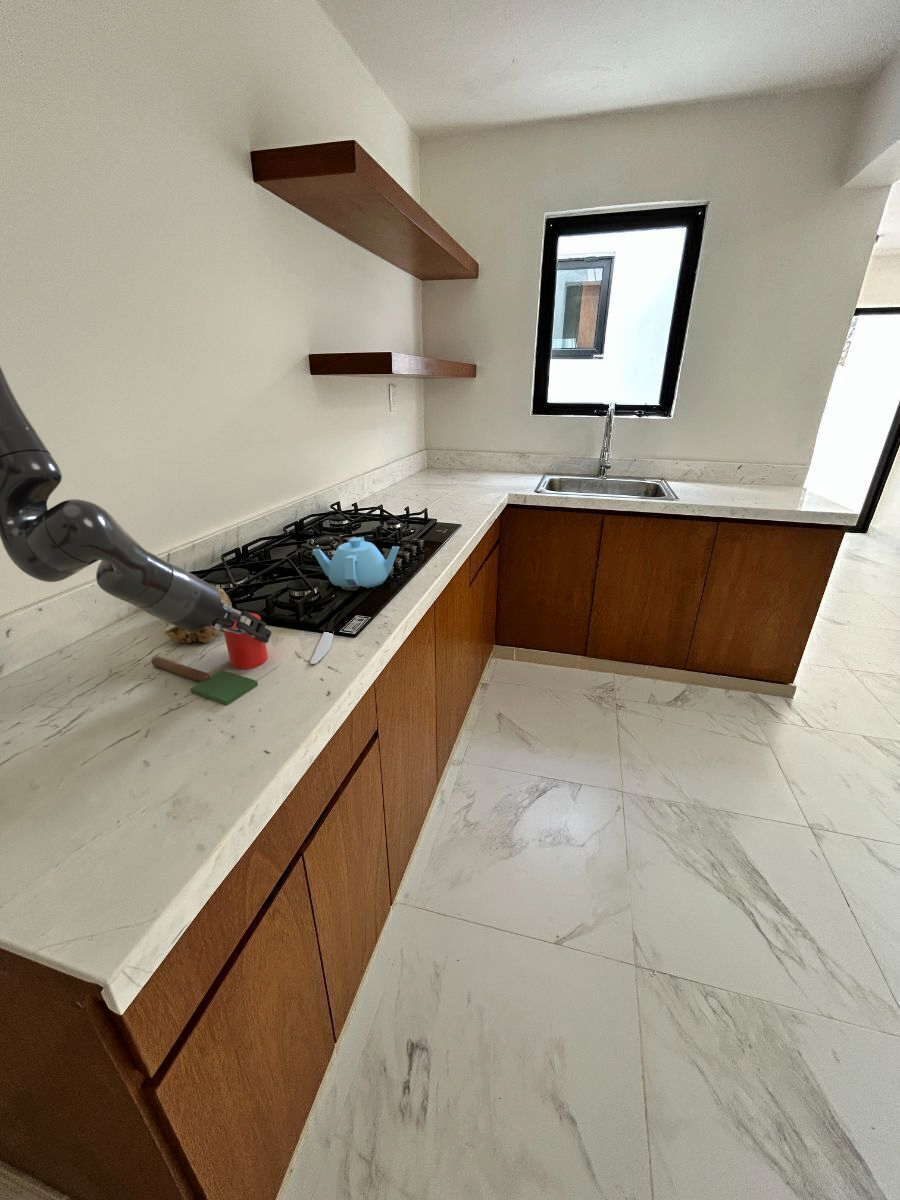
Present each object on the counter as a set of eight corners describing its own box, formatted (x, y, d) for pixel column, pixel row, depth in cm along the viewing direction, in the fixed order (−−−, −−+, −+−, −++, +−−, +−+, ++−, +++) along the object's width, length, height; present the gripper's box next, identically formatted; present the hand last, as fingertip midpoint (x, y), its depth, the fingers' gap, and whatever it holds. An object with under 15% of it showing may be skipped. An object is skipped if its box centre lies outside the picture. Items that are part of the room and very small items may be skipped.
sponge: (229, 648, 92) (246, 588, 109) (210, 616, 88) (231, 558, 104) (159, 665, 92) (187, 603, 108) (136, 633, 87) (168, 573, 103)
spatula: (138, 672, 83) (135, 664, 82) (171, 656, 88) (168, 648, 87) (226, 705, 74) (224, 696, 73) (258, 685, 79) (256, 676, 78)
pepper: (223, 664, 85) (212, 617, 81) (250, 648, 90) (241, 604, 86) (248, 672, 82) (238, 624, 79) (275, 656, 87) (266, 610, 83)
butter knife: (350, 598, 108) (336, 597, 108) (323, 663, 83) (305, 663, 83) (350, 600, 108) (336, 600, 108) (323, 666, 84) (305, 666, 84)
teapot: (313, 583, 119) (307, 539, 114) (364, 567, 128) (360, 526, 124) (351, 600, 109) (346, 553, 104) (403, 581, 119) (400, 537, 114)
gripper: (226, 578, 69) (293, 620, 84) (153, 567, 75) (228, 608, 89) (204, 628, 67) (277, 662, 82) (130, 613, 72) (211, 647, 87)
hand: (251, 634), depth 86 cm, fingers open, 6 cm apart
